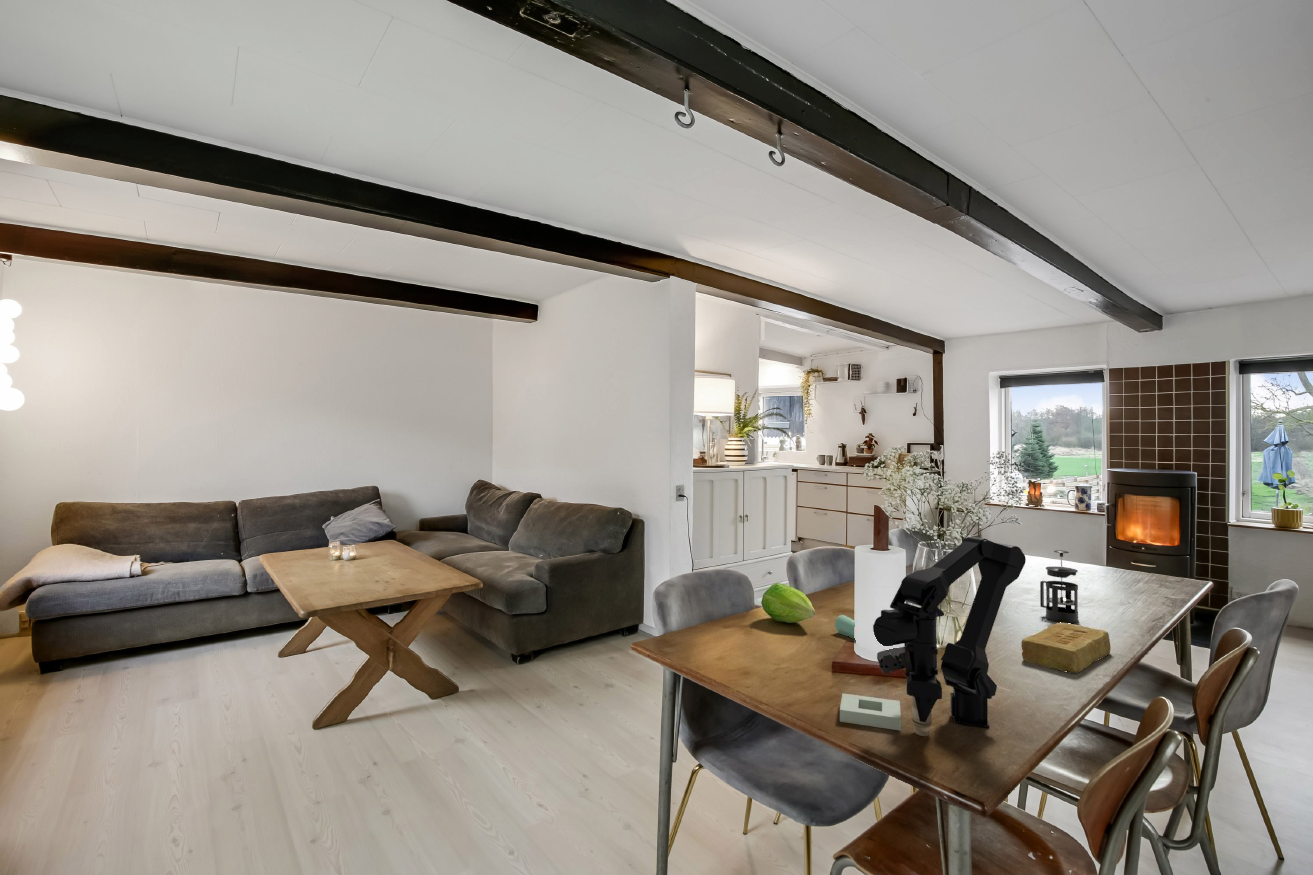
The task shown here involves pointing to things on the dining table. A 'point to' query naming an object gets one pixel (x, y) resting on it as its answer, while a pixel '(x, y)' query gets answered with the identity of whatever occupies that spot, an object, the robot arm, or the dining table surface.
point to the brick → (1066, 647)
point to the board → (870, 711)
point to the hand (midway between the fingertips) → (921, 715)
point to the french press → (1055, 611)
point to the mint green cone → (845, 626)
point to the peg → (919, 726)
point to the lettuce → (786, 604)
